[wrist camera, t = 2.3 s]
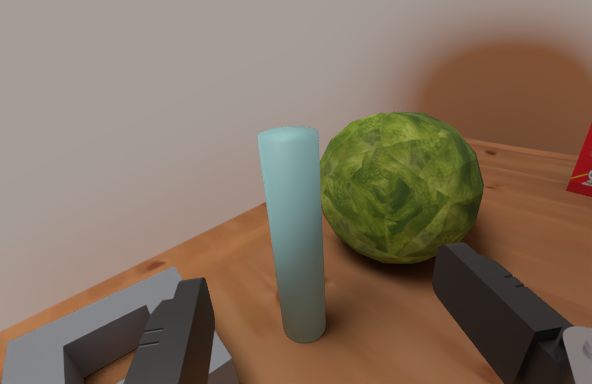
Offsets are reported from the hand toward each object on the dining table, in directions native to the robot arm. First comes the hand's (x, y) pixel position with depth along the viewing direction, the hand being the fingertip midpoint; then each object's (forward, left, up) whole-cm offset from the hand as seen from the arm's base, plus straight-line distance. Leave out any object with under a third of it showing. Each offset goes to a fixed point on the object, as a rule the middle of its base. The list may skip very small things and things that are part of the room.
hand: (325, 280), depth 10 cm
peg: (-6, -10, -16) cm, 19 cm away
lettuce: (-26, -13, -16) cm, 33 cm away
